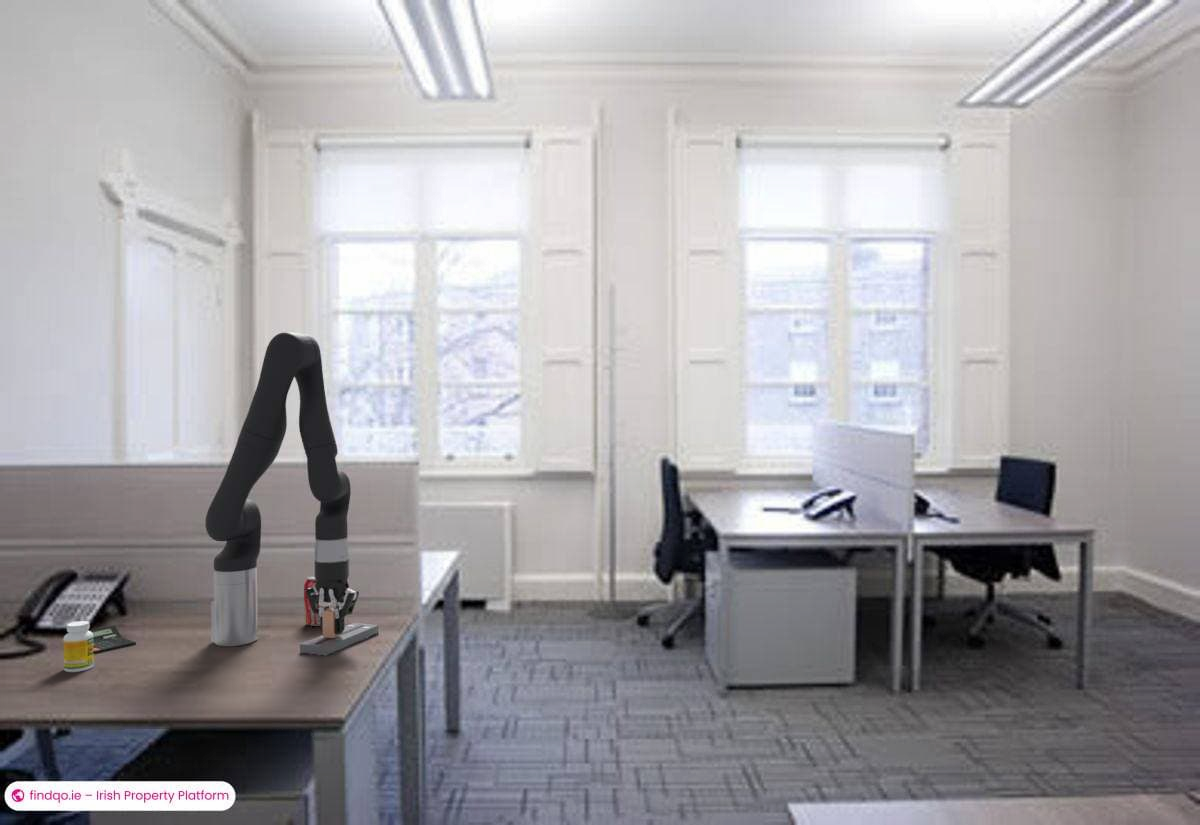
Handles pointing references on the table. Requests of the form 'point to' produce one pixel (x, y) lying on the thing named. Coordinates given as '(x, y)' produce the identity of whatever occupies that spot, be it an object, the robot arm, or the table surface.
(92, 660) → the supplement bottle
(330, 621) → the fader knob
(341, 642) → the fader console
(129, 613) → the table surface
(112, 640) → the calculator
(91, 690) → the table surface
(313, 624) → the soda can
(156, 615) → the table surface
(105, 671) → the table surface
